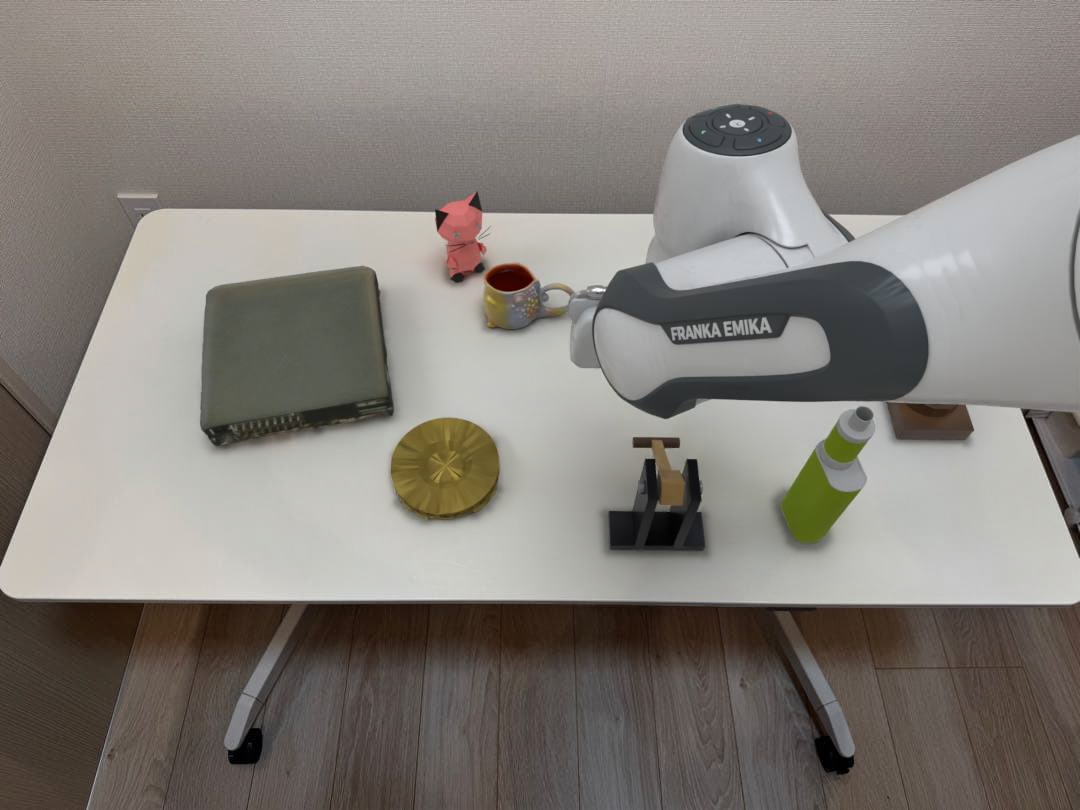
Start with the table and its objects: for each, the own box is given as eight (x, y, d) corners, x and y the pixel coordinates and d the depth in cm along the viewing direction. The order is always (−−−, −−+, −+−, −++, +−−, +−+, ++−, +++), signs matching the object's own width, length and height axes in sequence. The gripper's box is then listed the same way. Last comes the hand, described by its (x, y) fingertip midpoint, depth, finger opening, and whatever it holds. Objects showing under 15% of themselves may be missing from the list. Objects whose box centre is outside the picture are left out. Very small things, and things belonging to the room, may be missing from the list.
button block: (965, 439, 89) (982, 422, 86) (896, 439, 89) (911, 421, 86) (942, 369, 94) (957, 350, 91) (877, 369, 94) (890, 349, 91)
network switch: (215, 470, 86) (199, 448, 82) (196, 316, 98) (180, 290, 94) (417, 413, 91) (411, 390, 86) (374, 272, 102) (367, 246, 98)
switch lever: (631, 450, 84) (632, 430, 83) (677, 450, 84) (679, 430, 83) (645, 505, 72) (646, 483, 72) (697, 505, 72) (700, 483, 72)
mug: (478, 329, 97) (475, 294, 92) (489, 288, 101) (487, 253, 95) (572, 342, 96) (574, 308, 91) (579, 300, 100) (582, 265, 94)
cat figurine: (453, 295, 100) (444, 228, 90) (428, 262, 103) (417, 194, 93) (499, 273, 103) (496, 205, 92) (473, 241, 106) (467, 172, 95)
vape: (808, 490, 85) (874, 391, 69) (828, 540, 82) (904, 449, 65) (776, 496, 85) (835, 398, 68) (795, 546, 82) (863, 456, 65)
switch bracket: (608, 513, 84) (618, 457, 73) (699, 514, 84) (723, 458, 73) (609, 551, 81) (620, 499, 71) (703, 552, 81) (729, 500, 71)
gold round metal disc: (396, 529, 83) (393, 521, 81) (390, 434, 89) (387, 425, 87) (506, 513, 84) (506, 505, 82) (493, 421, 90) (492, 411, 88)
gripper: (569, 317, 61) (564, 410, 73) (826, 318, 61) (780, 412, 73) (568, 259, 64) (564, 357, 76) (811, 260, 64) (770, 358, 76)
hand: (671, 384), depth 74 cm, fingers open, 8 cm apart
